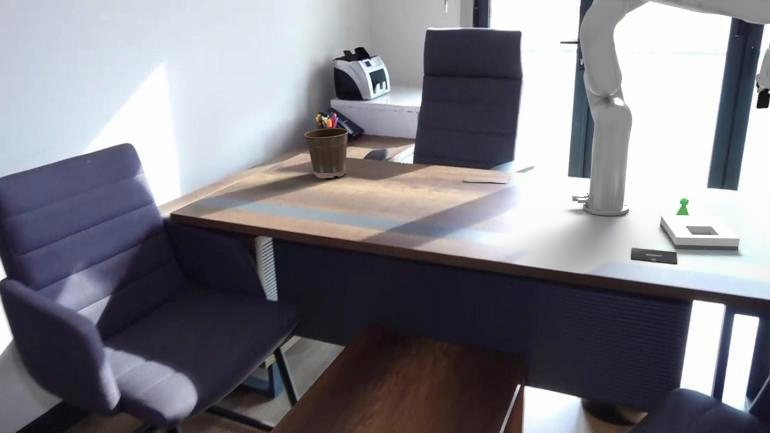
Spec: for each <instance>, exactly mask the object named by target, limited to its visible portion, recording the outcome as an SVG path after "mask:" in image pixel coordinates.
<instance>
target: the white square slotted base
mask: <svg viewBox="0 0 770 433" xmlns="http://www.w3.org/2000/svg"><path fill="white" fill-rule="evenodd" d="M659 227H660V228H661V229H662V231H663V233H664V234H665V236H666V237H667V239H668V240H669V242H670V243H671V245H672V246H673V248H674V249H680V250H681V249H682V250H709V251H710V250H711V251H713V250H717V251H718V250H719V251H738V250H739V247H740V240H741V238H740V237H739V236H738V235H737V234H736V233H735V232H734V230H732V228H730V227H729V226H728V225H727V223H726V222H725V221H724V220H723V219H722V218H721V217H720V216H719V215H689V216H685V215H675V214H670V215H669V214H660V220H659Z"/></svg>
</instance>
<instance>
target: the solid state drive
mask: <svg viewBox="0 0 770 433" xmlns="http://www.w3.org/2000/svg"><path fill="white" fill-rule="evenodd" d="M630 250H631V251H630V260H632V261H640V262H649V263H661V264H668V265H678V255H677V251H671V250H660V249H648V248H638V247H632V248H630Z"/></svg>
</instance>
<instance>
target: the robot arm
mask: <svg viewBox="0 0 770 433" xmlns="http://www.w3.org/2000/svg"><path fill="white" fill-rule="evenodd" d="M650 2H652V3H657V4H661V5H665V6H669V7H674V8H677V9H682V10H687V11H690V12H694V13H698V14H709V15H710V14H711V15H712V14H713V15H720V16H726V17H730V18H734V19H739V20H742V21H744V22H746V23H749V24H755V25H756V24H757V25H769V24H770V0H593V1H592V4H591V6H590V7H588V8H589V9H587V11H586V12H585V14H584V16H583V17H582V18H583V19H582V21H581V24H580V27H579V28H580V29H579V44H580V50H581V55H582V61H583V67H584V71H583V83H584V87H585V88H584V89H585V92H586V96H587V102H588V107H589V109H590V110H589V111H590V113H591V118H592V120H593V123H594V126H593V128H594V129H593V136H592V137H593V138H592V145H591V146H592V147H591V162H590V163H591V166H590V177H589V183H590V184H589V190H587V192H586V193H583V195H582V194H581V195H580V194H572V197H571V199H572V202H577V204H582V209H583V210H584V211H585V212H587V213H590V214H592V215H598V216H605V217H606V216H607V217H608V216H611V217H613V216H620V215H624V214H627V213H628V212H630V211H629V209H630V206H629V204H627V203H626V202H625V192H626V191H625V190H626V182H627V181H626V178H627V169H628V155H629V146H630V144H629V143H630V138H631V133H632V127H633V114H632V111H631V108H630V107H629V106H628V104H627V103H626V102H625V99H624V94H623V89H622V83H623V82H622V81H623V74H622V70H621V68H620V65H619V59H618V55H617V50H616V44H615V38H614V32H615V28H616V26H617V25H618V24H619V22H621V21H622V20H623V19H624V18H625V17H626V15H627V14H629V13H631V12H632V11H635V10H636V9H638V8H640V7H642V6H644V5H646V4H647V3H650ZM754 80H755V82H756V83H755V87H756V93H757V94H758V95H757V100H756V106H755V108H756V109H758V110H761V109H769V107H770V43H769V45H768V48H767V49H766V51H765V52H764V55H763V59H762V62H761V65H760V69H759V73H757V74H756V75H755V79H754Z"/></svg>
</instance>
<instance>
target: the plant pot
mask: <svg viewBox="0 0 770 433" xmlns="http://www.w3.org/2000/svg"><path fill="white" fill-rule="evenodd" d="M348 135H349V130H348V129H345V128H337V127H329V128H328V127H327V128H320V129H313V130H310V131H309V130H308V131H307V132H305V133H304V134H303V137H304V138H305V141H306V145H307V147H308V152H309V156H310V163H311V168H312V170H313V171H314V172H317V173H337V172H341V171H344V170H345V169H346V170H347V146H348V145H347V144H348ZM313 171H312V172H313Z"/></svg>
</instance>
